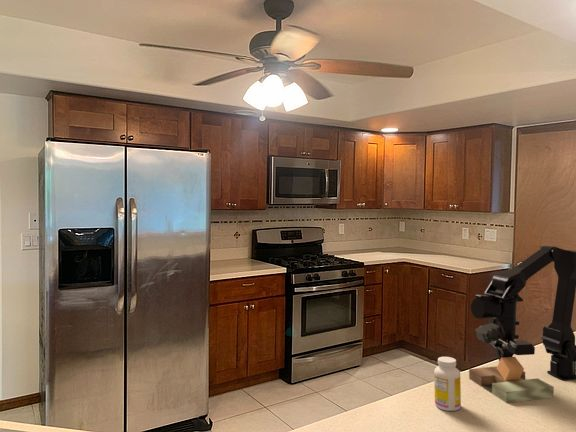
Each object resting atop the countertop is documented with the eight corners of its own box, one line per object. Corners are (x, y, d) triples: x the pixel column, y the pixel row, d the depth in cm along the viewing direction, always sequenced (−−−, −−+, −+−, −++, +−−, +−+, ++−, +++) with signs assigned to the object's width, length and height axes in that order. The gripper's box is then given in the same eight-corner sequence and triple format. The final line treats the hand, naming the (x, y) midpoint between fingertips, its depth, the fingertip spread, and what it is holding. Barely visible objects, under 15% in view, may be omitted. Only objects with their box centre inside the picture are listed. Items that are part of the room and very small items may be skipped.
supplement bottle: (456, 401, 122) (456, 355, 122) (464, 412, 115) (463, 364, 115) (432, 400, 123) (431, 354, 122) (437, 411, 116) (437, 363, 116)
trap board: (511, 374, 140) (511, 364, 140) (553, 397, 123) (553, 386, 123) (469, 378, 137) (469, 369, 137) (506, 402, 120) (506, 392, 120)
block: (510, 367, 132) (514, 356, 130) (519, 379, 129) (524, 368, 126) (496, 368, 132) (501, 357, 129) (505, 380, 128) (509, 369, 126)
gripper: (463, 308, 139) (461, 357, 140) (501, 326, 120) (498, 382, 121) (494, 307, 141) (492, 355, 142) (537, 325, 122) (534, 380, 123)
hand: (503, 367), depth 132 cm, fingers closed, pressing on block
